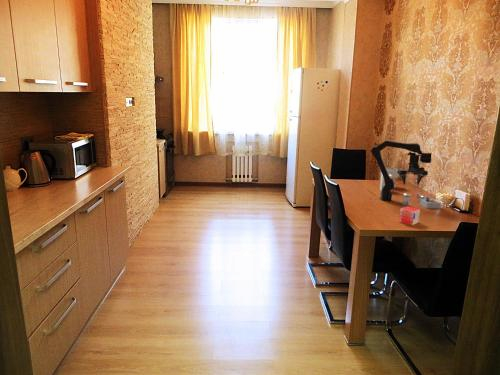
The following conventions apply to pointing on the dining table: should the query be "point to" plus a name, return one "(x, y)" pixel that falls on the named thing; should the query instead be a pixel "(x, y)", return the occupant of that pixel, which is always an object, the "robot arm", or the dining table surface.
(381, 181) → the supplement box
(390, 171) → the chalice
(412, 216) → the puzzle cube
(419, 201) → the pin mount
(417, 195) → the lock pin
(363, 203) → the dining table surface
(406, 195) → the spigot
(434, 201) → the socket
